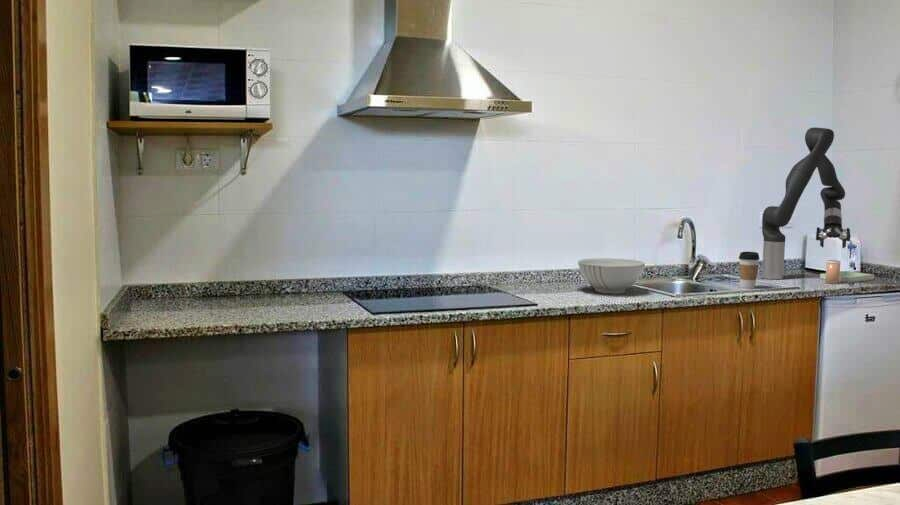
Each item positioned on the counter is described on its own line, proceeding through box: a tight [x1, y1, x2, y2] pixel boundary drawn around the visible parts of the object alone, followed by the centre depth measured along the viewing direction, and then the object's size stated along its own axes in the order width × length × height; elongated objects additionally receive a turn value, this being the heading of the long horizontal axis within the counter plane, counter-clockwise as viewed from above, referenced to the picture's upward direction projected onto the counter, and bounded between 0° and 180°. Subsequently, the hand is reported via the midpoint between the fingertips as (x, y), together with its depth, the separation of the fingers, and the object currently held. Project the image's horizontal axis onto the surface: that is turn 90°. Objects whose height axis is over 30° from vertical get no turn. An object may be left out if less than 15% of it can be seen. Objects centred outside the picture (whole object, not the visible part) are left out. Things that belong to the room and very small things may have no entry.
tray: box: [819, 270, 875, 284], centre depth 358 cm, size 20×14×2 cm
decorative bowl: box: [577, 257, 646, 294], centre depth 318 cm, size 27×27×12 cm
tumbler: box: [825, 259, 841, 285], centre depth 346 cm, size 6×6×10 cm
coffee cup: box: [738, 251, 760, 290], centre depth 331 cm, size 8×8×15 cm
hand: (833, 246), depth 355 cm, fingers open, 8 cm apart
